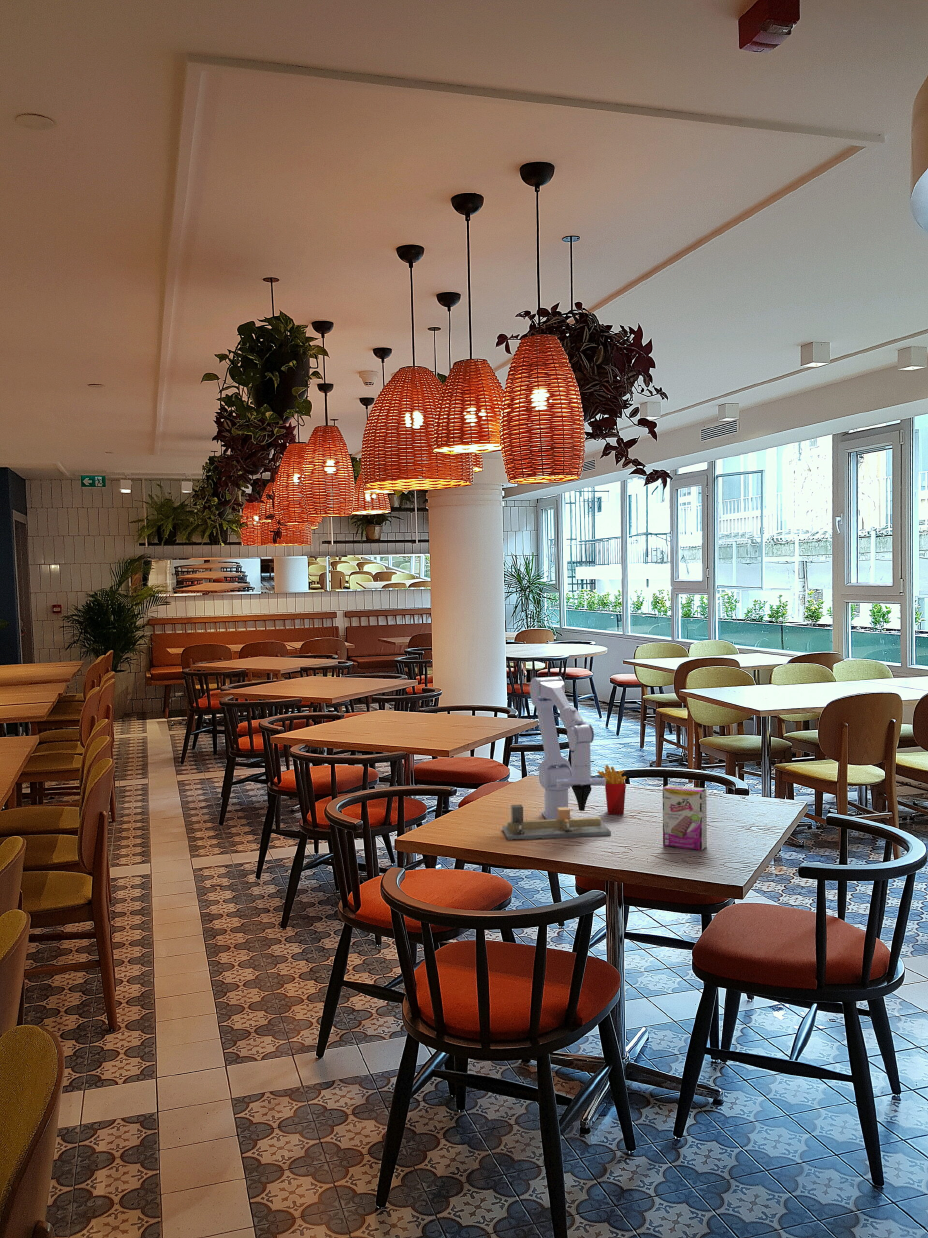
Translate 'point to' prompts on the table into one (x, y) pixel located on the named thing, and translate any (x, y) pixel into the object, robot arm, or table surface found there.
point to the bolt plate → (552, 827)
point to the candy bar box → (684, 817)
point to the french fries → (614, 790)
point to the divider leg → (564, 815)
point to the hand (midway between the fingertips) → (581, 810)
